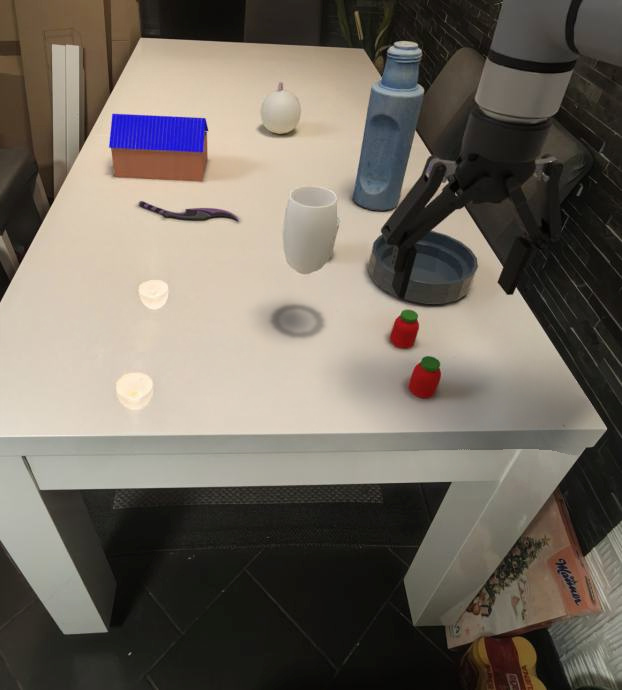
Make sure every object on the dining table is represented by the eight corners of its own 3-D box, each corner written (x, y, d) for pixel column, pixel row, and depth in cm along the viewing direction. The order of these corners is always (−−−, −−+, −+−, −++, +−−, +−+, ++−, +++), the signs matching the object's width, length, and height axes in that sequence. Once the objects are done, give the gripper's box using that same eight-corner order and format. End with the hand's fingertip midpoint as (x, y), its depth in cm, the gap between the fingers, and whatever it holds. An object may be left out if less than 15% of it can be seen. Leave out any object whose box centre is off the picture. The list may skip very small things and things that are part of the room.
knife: (139, 203, 111) (133, 216, 108) (139, 199, 111) (133, 212, 107) (240, 212, 110) (237, 225, 107) (240, 208, 110) (237, 222, 106)
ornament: (258, 124, 147) (260, 77, 139) (296, 125, 148) (300, 77, 140) (261, 139, 139) (263, 89, 131) (301, 139, 140) (306, 90, 132)
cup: (293, 300, 88) (306, 178, 75) (330, 319, 85) (351, 195, 71) (265, 321, 84) (274, 196, 70) (304, 342, 81) (321, 215, 67)
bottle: (405, 198, 117) (443, 42, 97) (387, 216, 111) (423, 53, 91) (364, 186, 121) (392, 33, 101) (344, 203, 114) (370, 43, 94)
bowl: (489, 281, 94) (498, 259, 91) (429, 320, 86) (436, 297, 83) (408, 240, 104) (414, 219, 101) (347, 271, 95) (351, 248, 92)
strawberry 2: (440, 390, 74) (450, 363, 71) (424, 402, 72) (434, 376, 69) (418, 375, 76) (427, 349, 73) (402, 387, 74) (411, 360, 71)
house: (203, 182, 120) (202, 128, 112) (113, 177, 120) (105, 123, 112) (209, 159, 129) (208, 108, 121) (124, 155, 129) (118, 104, 121)
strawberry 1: (419, 342, 82) (427, 315, 78) (404, 352, 80) (412, 325, 76) (399, 329, 84) (407, 303, 80) (384, 339, 82) (391, 313, 79)
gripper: (611, 97, 57) (533, 270, 71) (376, 97, 54) (344, 275, 68) (658, 123, 51) (564, 305, 65) (399, 124, 49) (359, 312, 63)
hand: (451, 290), depth 67 cm, fingers open, 13 cm apart
